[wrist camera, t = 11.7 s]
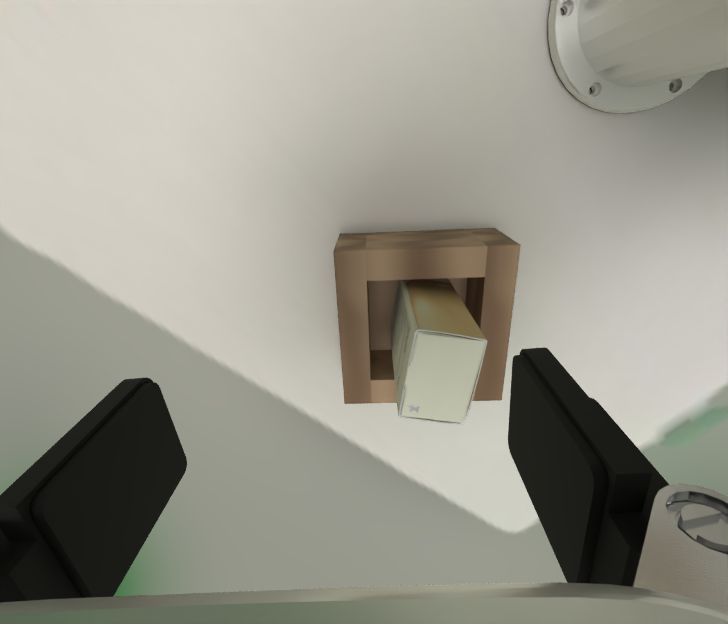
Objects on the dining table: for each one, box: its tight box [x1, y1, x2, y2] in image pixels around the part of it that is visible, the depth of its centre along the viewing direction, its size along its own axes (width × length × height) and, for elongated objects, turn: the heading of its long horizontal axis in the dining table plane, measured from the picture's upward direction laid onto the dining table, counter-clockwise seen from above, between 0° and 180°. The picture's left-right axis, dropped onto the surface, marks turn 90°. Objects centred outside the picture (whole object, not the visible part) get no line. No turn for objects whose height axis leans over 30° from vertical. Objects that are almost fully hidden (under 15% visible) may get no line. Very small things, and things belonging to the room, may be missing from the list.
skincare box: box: [390, 278, 487, 424], centre depth 28 cm, size 6×4×12 cm
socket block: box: [334, 228, 520, 404], centre depth 32 cm, size 13×13×6 cm
